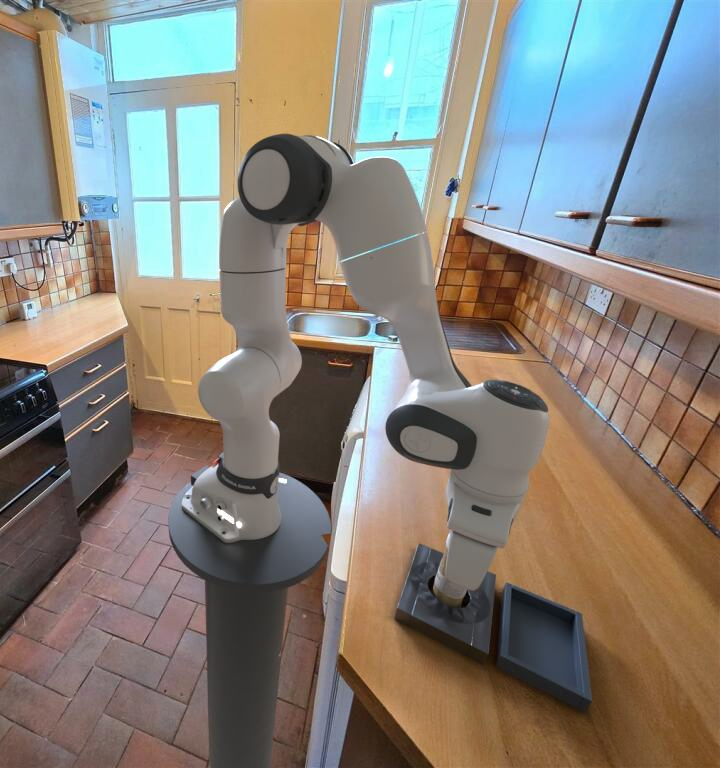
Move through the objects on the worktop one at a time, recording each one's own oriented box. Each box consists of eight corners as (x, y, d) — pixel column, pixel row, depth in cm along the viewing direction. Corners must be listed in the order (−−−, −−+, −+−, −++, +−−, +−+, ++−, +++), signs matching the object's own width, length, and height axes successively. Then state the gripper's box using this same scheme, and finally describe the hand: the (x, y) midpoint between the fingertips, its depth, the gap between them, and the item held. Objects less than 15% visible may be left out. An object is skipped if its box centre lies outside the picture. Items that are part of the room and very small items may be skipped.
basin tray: (495, 666, 57) (500, 655, 56) (501, 592, 68) (506, 581, 67) (584, 712, 52) (592, 701, 51) (576, 624, 63) (582, 613, 61)
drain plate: (394, 618, 64) (397, 607, 63) (415, 552, 75) (418, 542, 74) (483, 665, 57) (488, 654, 56) (492, 585, 69) (496, 574, 68)
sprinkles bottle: (432, 584, 69) (450, 524, 64) (462, 597, 67) (484, 537, 61) (427, 604, 66) (446, 543, 60) (459, 619, 63) (482, 557, 58)
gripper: (466, 451, 66) (448, 516, 72) (446, 526, 51) (425, 601, 57) (513, 464, 63) (490, 531, 68) (507, 548, 48) (478, 626, 53)
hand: (460, 564), depth 63 cm, fingers open, 8 cm apart
